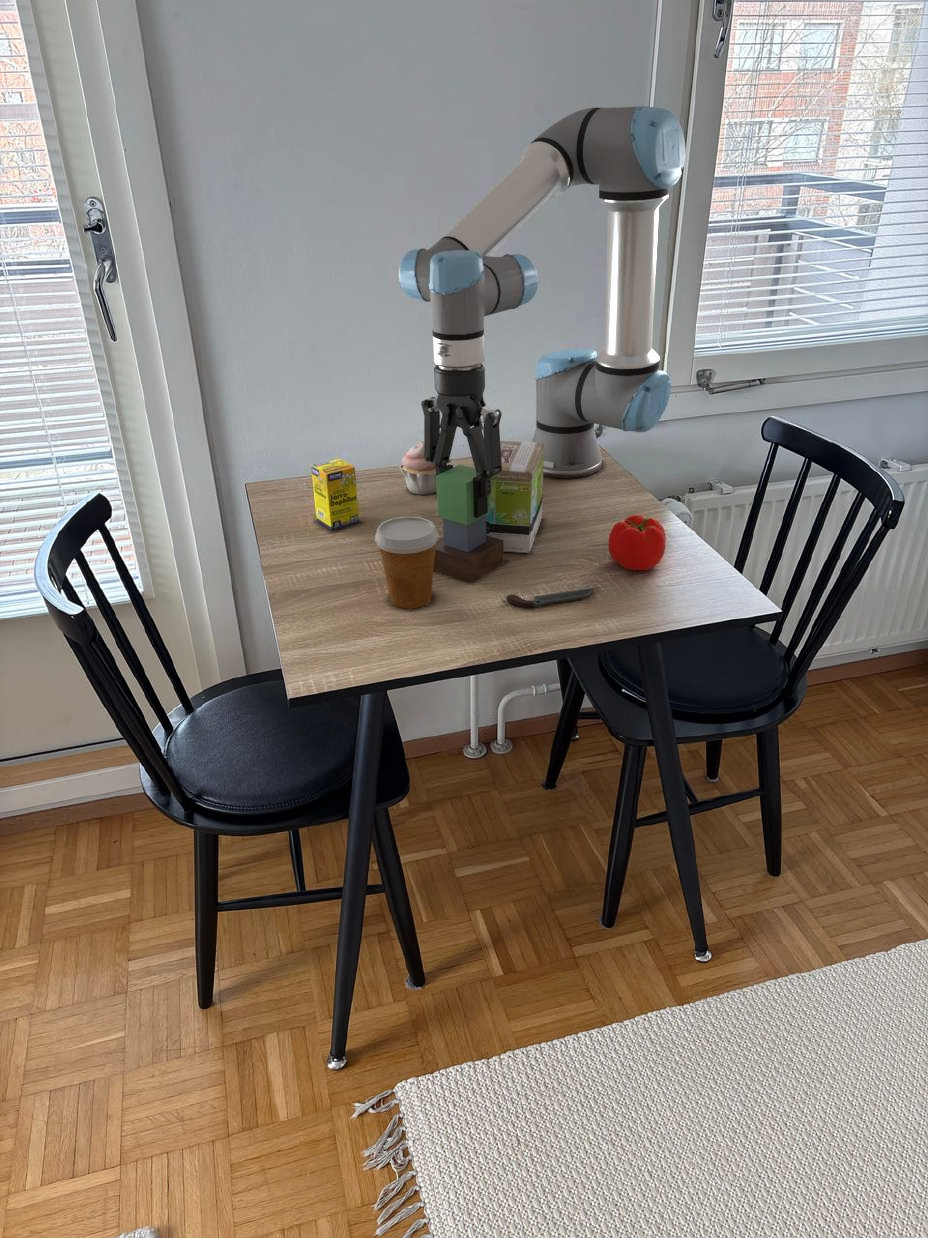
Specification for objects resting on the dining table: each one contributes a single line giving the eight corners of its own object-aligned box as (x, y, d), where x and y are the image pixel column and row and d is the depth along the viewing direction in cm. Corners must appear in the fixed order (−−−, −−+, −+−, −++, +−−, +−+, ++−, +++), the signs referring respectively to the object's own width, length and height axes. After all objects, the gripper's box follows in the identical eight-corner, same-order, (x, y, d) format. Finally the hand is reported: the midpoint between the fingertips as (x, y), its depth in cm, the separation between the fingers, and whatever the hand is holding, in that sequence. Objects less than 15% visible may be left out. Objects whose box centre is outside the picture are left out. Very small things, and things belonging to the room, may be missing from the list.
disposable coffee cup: (454, 598, 143) (451, 526, 137) (408, 620, 138) (402, 547, 132) (413, 578, 149) (409, 509, 143) (367, 599, 144) (360, 528, 138)
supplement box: (332, 531, 166) (325, 474, 161) (316, 521, 171) (309, 464, 165) (360, 523, 169) (355, 466, 164) (344, 513, 174) (338, 457, 168)
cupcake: (402, 480, 187) (399, 432, 182) (449, 480, 186) (447, 431, 181) (398, 498, 179) (394, 449, 174) (446, 498, 178) (444, 448, 173)
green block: (460, 504, 152) (459, 464, 149) (490, 512, 149) (489, 471, 146) (437, 517, 148) (435, 475, 145) (467, 525, 145) (466, 483, 141)
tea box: (532, 554, 156) (532, 471, 148) (473, 550, 158) (470, 468, 150) (543, 518, 169) (544, 440, 161) (488, 515, 170) (487, 437, 163)
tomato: (626, 581, 147) (629, 537, 143) (598, 558, 154) (600, 516, 150) (677, 569, 149) (681, 526, 146) (647, 548, 157) (650, 506, 153)
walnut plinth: (460, 548, 159) (459, 527, 157) (503, 562, 154) (503, 540, 152) (427, 568, 152) (426, 546, 150) (471, 583, 148) (470, 560, 146)
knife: (513, 610, 139) (513, 606, 139) (505, 598, 142) (505, 594, 142) (601, 597, 142) (601, 593, 141) (591, 585, 145) (592, 582, 145)
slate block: (462, 534, 154) (461, 506, 152) (486, 541, 151) (485, 513, 149) (443, 545, 151) (442, 516, 148) (468, 552, 148) (467, 523, 146)
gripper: (393, 361, 139) (403, 504, 151) (496, 379, 129) (498, 531, 141) (425, 350, 144) (432, 490, 156) (527, 367, 134) (526, 515, 146)
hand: (463, 509), depth 148 cm, fingers closed on green block, 6 cm apart
